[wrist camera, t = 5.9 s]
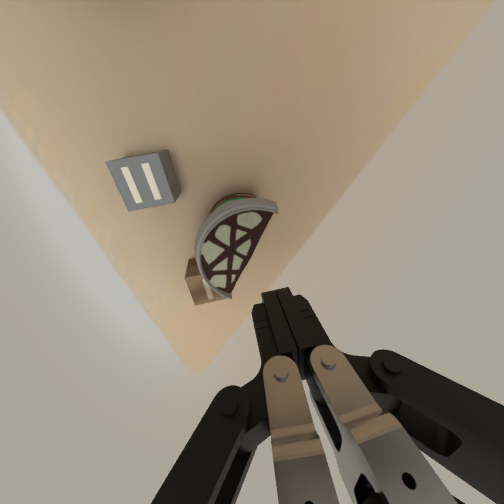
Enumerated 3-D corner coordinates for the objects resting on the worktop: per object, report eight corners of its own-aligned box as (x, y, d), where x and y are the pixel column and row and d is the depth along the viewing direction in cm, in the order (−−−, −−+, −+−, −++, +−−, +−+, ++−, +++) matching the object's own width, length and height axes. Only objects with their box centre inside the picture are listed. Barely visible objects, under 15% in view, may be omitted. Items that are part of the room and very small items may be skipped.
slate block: (124, 157, 24) (104, 162, 20) (167, 150, 25) (157, 153, 20) (142, 199, 27) (128, 211, 22) (181, 192, 27) (174, 203, 23)
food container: (218, 165, 26) (220, 180, 18) (260, 186, 28) (281, 208, 20) (187, 246, 31) (176, 289, 22) (225, 259, 33) (229, 302, 24)
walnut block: (188, 259, 32) (184, 278, 28) (220, 252, 32) (221, 271, 28) (197, 284, 34) (195, 306, 30) (227, 278, 35) (229, 298, 30)
